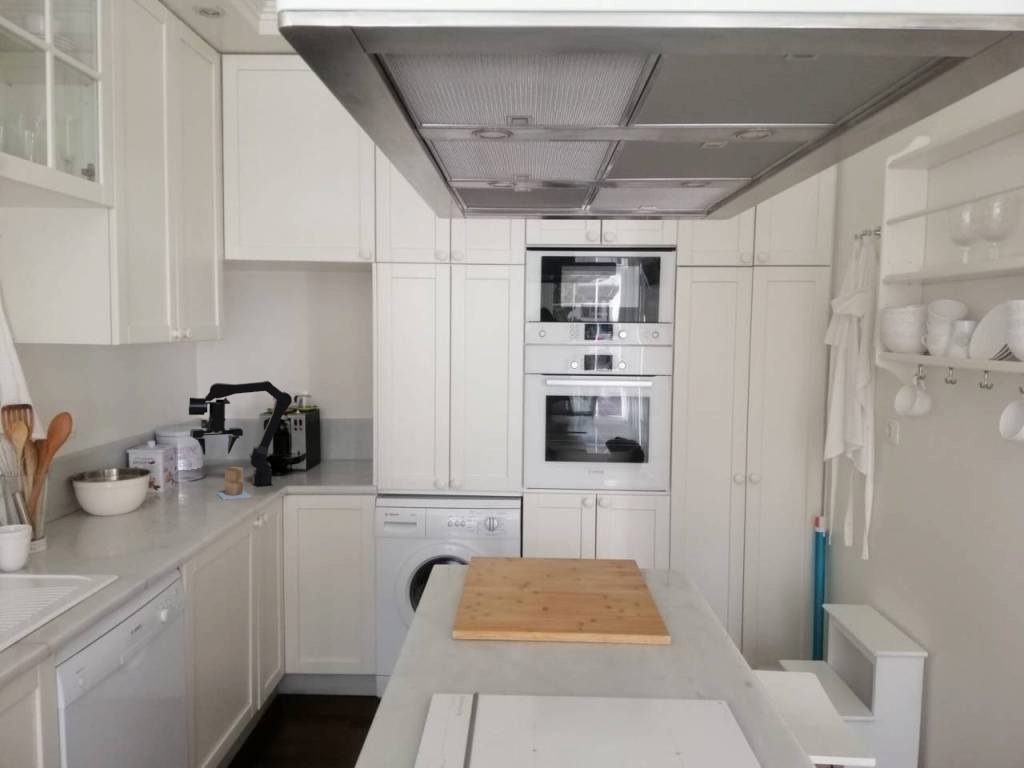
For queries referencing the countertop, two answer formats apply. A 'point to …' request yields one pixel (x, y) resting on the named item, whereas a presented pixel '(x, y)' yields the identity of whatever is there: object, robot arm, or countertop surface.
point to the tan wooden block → (233, 481)
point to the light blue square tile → (224, 497)
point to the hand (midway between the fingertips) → (216, 454)
